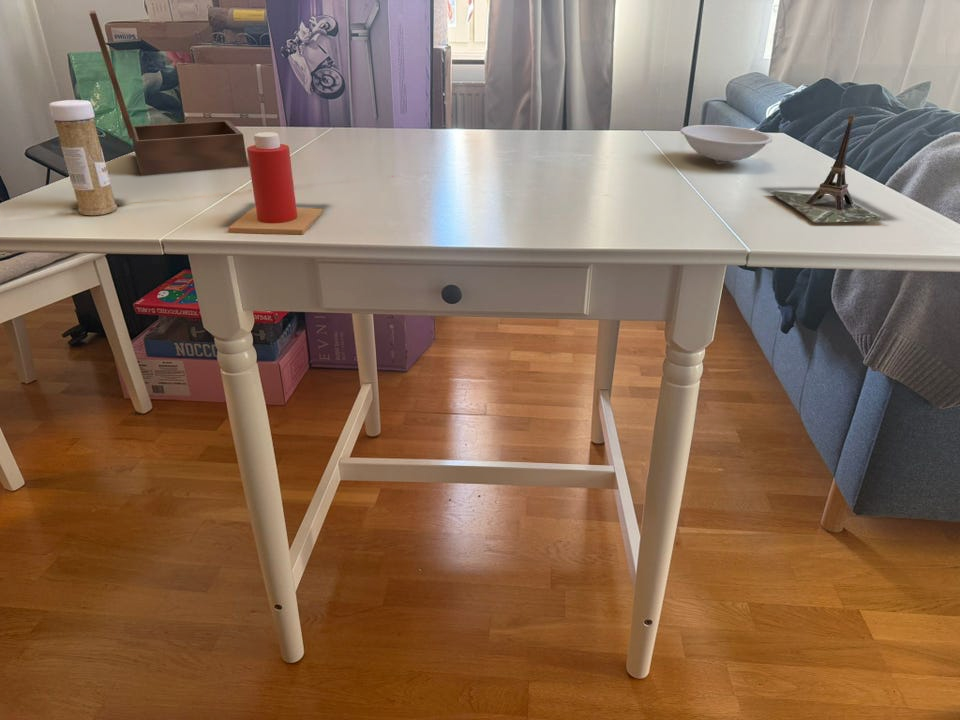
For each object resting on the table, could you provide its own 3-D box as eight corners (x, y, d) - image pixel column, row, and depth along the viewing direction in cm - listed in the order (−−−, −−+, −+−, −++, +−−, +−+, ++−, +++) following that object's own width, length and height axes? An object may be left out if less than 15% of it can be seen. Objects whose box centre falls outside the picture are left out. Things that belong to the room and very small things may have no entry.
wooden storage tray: (233, 154, 119) (228, 120, 116) (248, 171, 108) (243, 134, 105) (137, 162, 113) (128, 126, 110) (142, 181, 101) (133, 141, 99)
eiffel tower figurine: (764, 194, 98) (785, 97, 92) (832, 194, 99) (857, 98, 93) (813, 225, 85) (841, 114, 79) (891, 225, 86) (925, 115, 79)
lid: (95, 10, 102) (89, 11, 101) (95, 12, 90) (89, 13, 90) (130, 122, 110) (125, 123, 110) (135, 137, 99) (129, 138, 98)
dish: (662, 153, 124) (666, 125, 122) (735, 152, 126) (740, 124, 124) (702, 175, 109) (707, 143, 106) (785, 174, 111) (792, 142, 108)
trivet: (228, 232, 80) (227, 227, 80) (254, 211, 88) (254, 206, 88) (303, 234, 80) (302, 229, 79) (322, 213, 88) (322, 208, 87)
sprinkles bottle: (124, 210, 88) (98, 101, 81) (90, 218, 84) (59, 105, 78) (106, 204, 90) (79, 97, 84) (71, 212, 87) (40, 101, 80)
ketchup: (261, 225, 81) (249, 139, 76) (254, 215, 85) (241, 132, 80) (301, 220, 83) (291, 136, 78) (292, 210, 86) (282, 129, 82)
